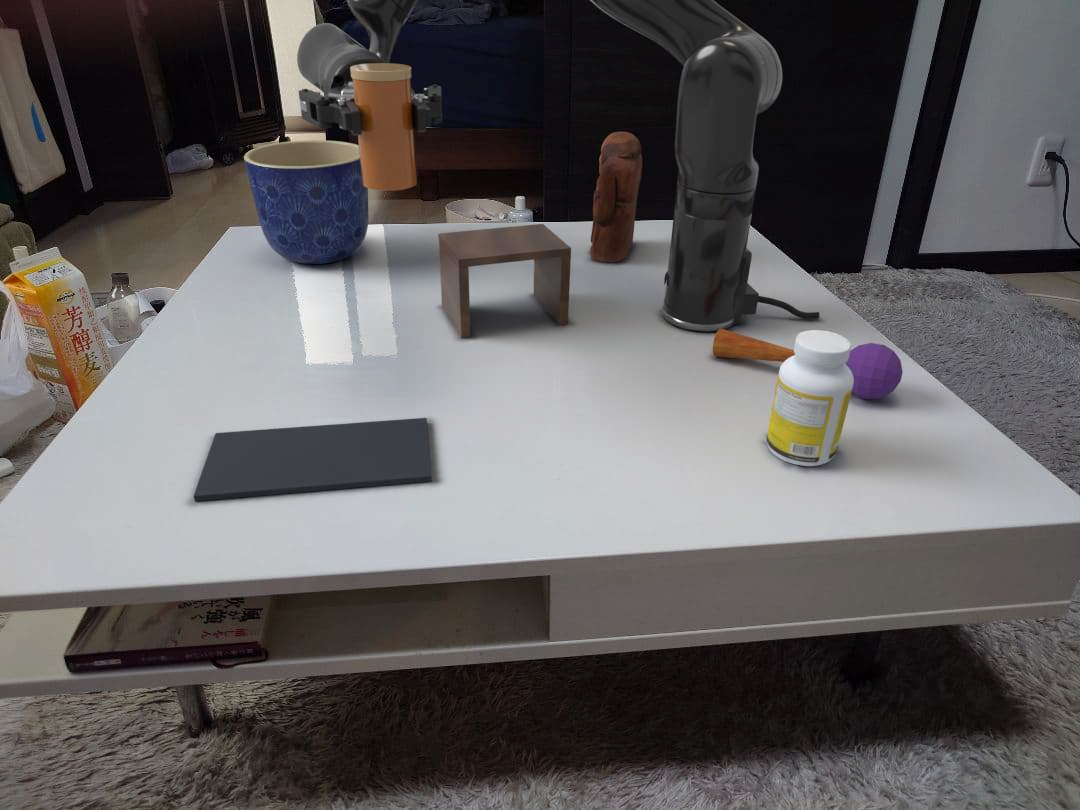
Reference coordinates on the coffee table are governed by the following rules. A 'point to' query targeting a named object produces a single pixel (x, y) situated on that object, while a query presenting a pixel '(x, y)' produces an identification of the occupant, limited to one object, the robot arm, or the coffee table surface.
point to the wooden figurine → (616, 197)
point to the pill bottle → (811, 399)
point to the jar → (385, 125)
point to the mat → (315, 459)
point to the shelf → (504, 248)
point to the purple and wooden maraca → (867, 362)
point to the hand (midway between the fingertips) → (389, 121)
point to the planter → (310, 198)
